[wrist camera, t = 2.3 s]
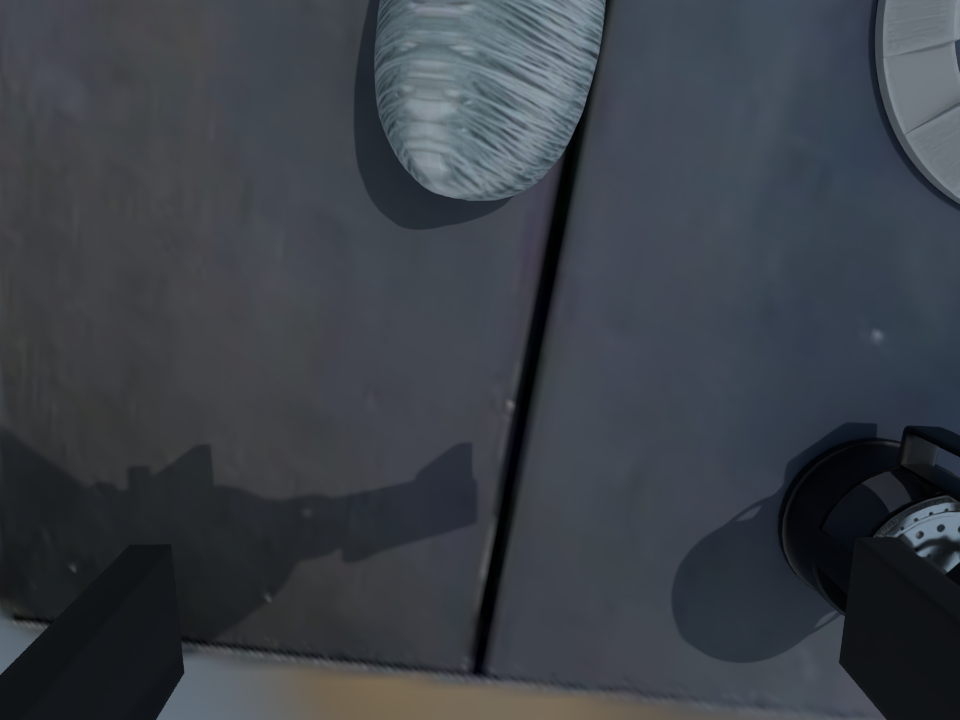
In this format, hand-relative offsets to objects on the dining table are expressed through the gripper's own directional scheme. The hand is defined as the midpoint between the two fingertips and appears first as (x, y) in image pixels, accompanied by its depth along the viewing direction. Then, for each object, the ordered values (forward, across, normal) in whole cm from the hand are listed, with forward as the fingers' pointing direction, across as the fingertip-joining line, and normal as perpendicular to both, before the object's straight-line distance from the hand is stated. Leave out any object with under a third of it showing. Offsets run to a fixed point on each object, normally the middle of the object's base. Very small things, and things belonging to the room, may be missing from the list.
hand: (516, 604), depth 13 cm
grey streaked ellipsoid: (+22, 0, -15) cm, 27 cm away
